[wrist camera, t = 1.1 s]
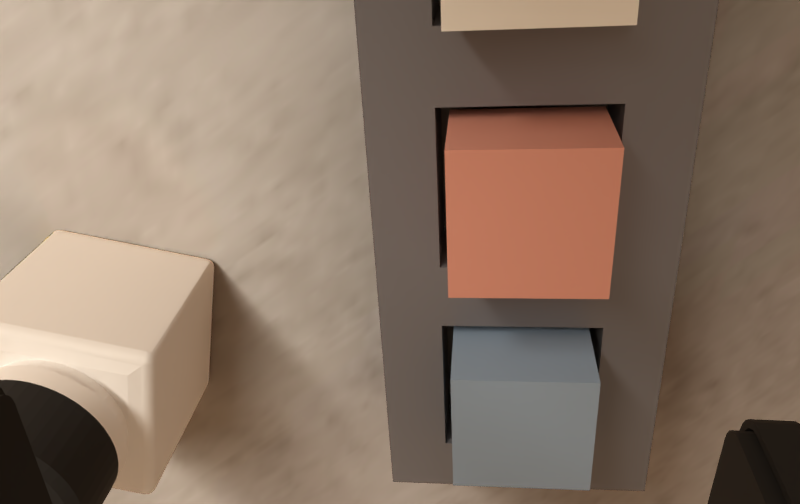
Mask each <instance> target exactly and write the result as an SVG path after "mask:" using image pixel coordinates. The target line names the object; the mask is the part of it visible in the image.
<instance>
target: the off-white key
mask: <svg viewBox="0 0 800 504" xmlns="http://www.w3.org/2000/svg"><path fill="white" fill-rule="evenodd" d="M638 8H639V0H441V32H443V31H473V30H504V29H535V28H565V27H596V26H627V25H637V18H638Z"/></svg>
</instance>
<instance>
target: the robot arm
mask: <svg viewBox="0 0 800 504" xmlns="http://www.w3.org/2000/svg"><path fill="white" fill-rule="evenodd" d="M0 504H52V501H51V498H50V496H49V493H48V490H47V488H46V485H45V482H44V480H43V477H42V474H41V472H40V469H39V466H38V463H37V461H36V458H35V455H34V453H33V450H32V447H31V445H30V442H29V439H28V437H27V434H26V431H25V429H24V426H23V423H22V421H21V418H20V415H19V413H18V410H17V407H16V404H15V402H14V400H13V399H12V398H11V397H10V396H9V395H5V393H4V391H3V390H2V388H1V387H0ZM708 504H800V424H799V423H797V422H795V421H775V420H754V419H748V420H745V421H744V422H743V424H742V426H741V429H740V431H734V430H731V431H729V432H728V433H727V435H726V437H725V440H724V444H723V448H722V452H721V455H720V459H719V463H718V467H717V470H716V474H715V478H714V482H713V485H712V489H711V493H710V497H709V500H708Z"/></svg>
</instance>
